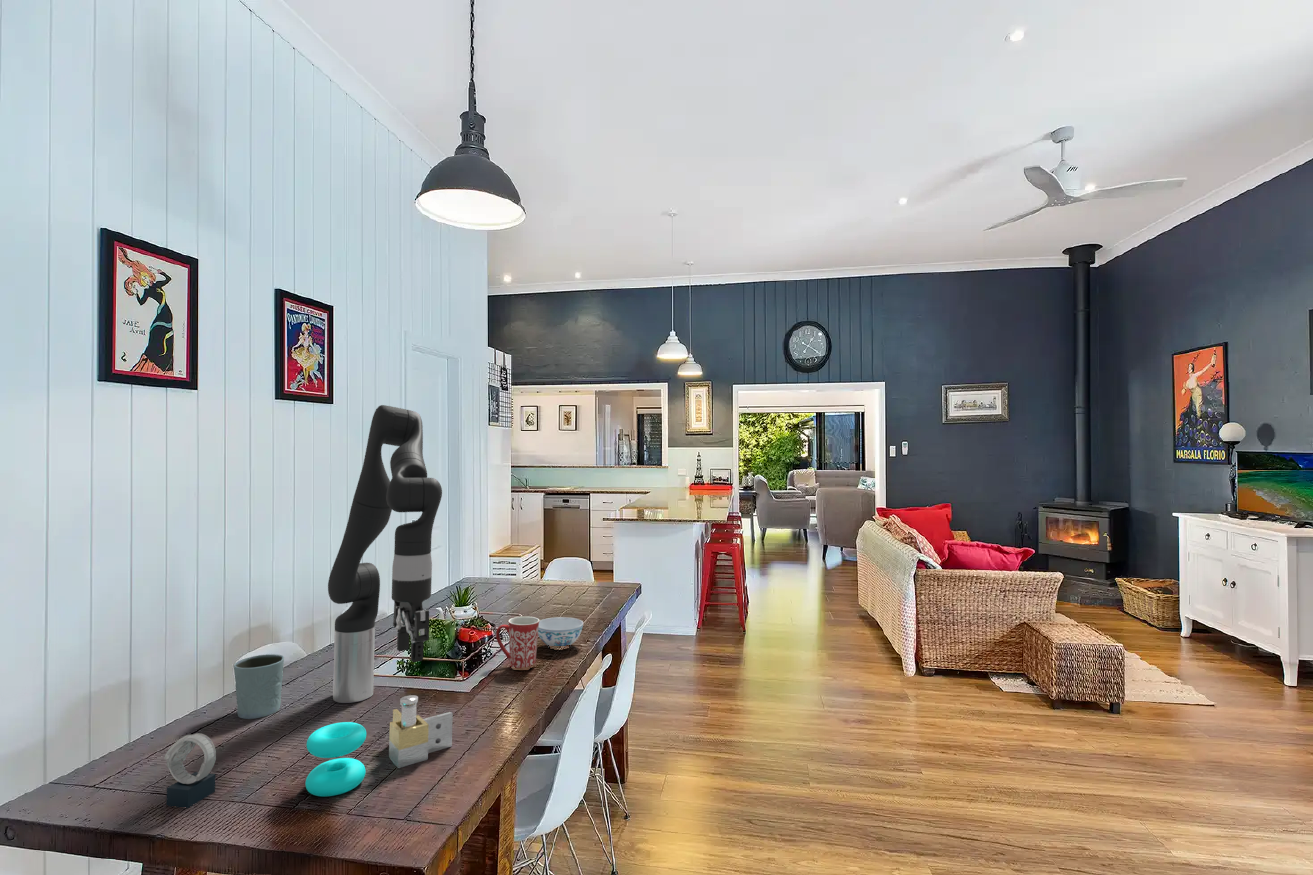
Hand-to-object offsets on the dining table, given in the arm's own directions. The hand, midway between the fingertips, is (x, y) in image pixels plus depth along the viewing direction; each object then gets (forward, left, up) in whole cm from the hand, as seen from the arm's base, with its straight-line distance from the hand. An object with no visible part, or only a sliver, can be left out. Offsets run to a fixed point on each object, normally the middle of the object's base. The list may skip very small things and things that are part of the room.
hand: (409, 655), depth 128 cm
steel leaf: (0, +3, -21) cm, 21 cm away
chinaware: (-44, +62, -21) cm, 79 cm away
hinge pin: (0, 0, -21) cm, 21 cm away
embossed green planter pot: (-45, -20, -21) cm, 53 cm away
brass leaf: (-3, 0, -21) cm, 21 cm away
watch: (-9, -35, -21) cm, 42 cm away
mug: (-36, +43, -21) cm, 60 cm away
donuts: (+2, -14, -21) cm, 25 cm away
